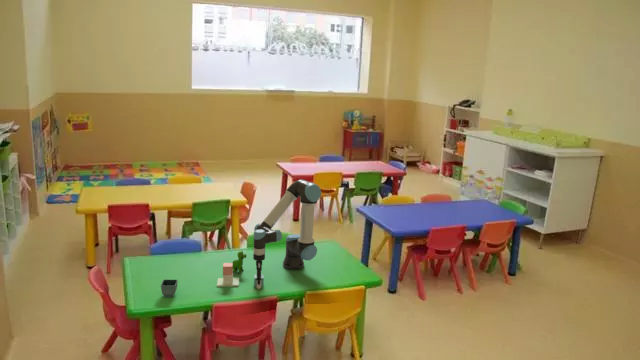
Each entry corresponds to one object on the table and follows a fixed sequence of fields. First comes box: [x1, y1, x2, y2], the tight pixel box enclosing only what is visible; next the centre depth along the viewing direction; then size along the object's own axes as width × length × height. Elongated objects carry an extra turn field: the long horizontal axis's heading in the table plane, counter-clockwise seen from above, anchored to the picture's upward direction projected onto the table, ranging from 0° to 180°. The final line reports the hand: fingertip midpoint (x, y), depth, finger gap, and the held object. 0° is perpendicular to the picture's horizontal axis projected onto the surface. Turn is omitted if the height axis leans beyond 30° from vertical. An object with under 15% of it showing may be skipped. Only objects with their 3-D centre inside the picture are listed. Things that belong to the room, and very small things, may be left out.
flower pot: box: [160, 278, 179, 298], centre depth 331 cm, size 9×9×9 cm
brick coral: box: [222, 262, 234, 276], centre depth 350 cm, size 6×6×6 cm
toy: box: [231, 250, 248, 274], centre depth 369 cm, size 6×14×15 cm, turn 78°
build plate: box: [216, 272, 240, 288], centre depth 352 cm, size 14×11×7 cm
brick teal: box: [253, 273, 265, 288], centre depth 351 cm, size 6×6×6 cm
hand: (258, 284), depth 352 cm, fingers open, 11 cm apart
